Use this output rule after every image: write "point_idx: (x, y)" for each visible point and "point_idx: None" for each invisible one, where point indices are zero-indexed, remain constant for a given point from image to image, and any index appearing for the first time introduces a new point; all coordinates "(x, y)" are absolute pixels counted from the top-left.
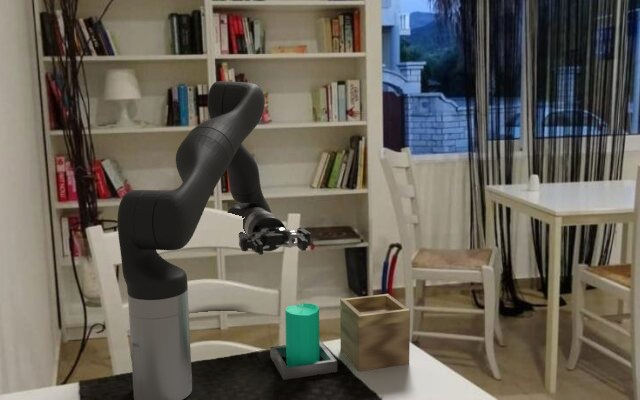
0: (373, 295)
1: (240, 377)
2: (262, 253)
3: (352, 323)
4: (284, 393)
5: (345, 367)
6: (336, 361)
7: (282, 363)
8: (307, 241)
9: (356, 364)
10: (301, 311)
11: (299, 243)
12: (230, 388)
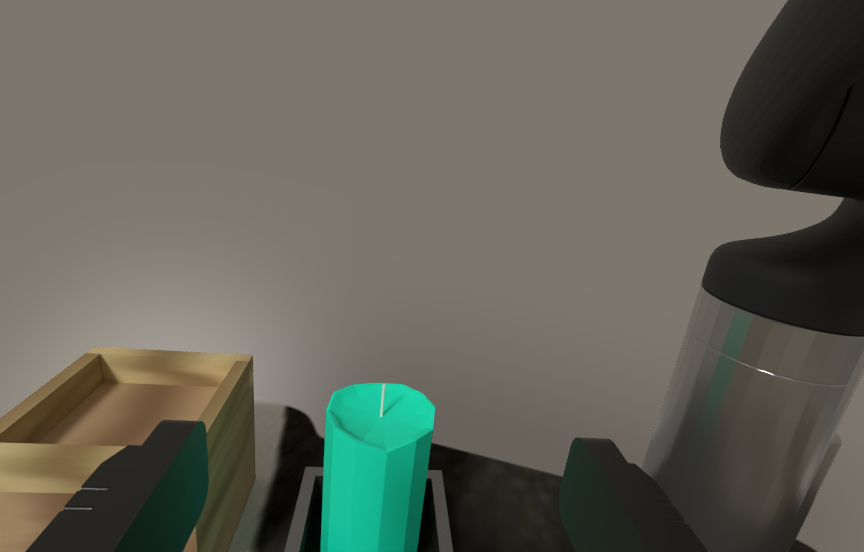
0: (30, 455)
1: (540, 532)
2: (564, 498)
3: (237, 418)
4: (445, 449)
5: (271, 503)
6: (307, 467)
7: (439, 492)
8: (125, 449)
9: (249, 483)
10: (384, 415)
11: (155, 550)
12: (555, 493)
